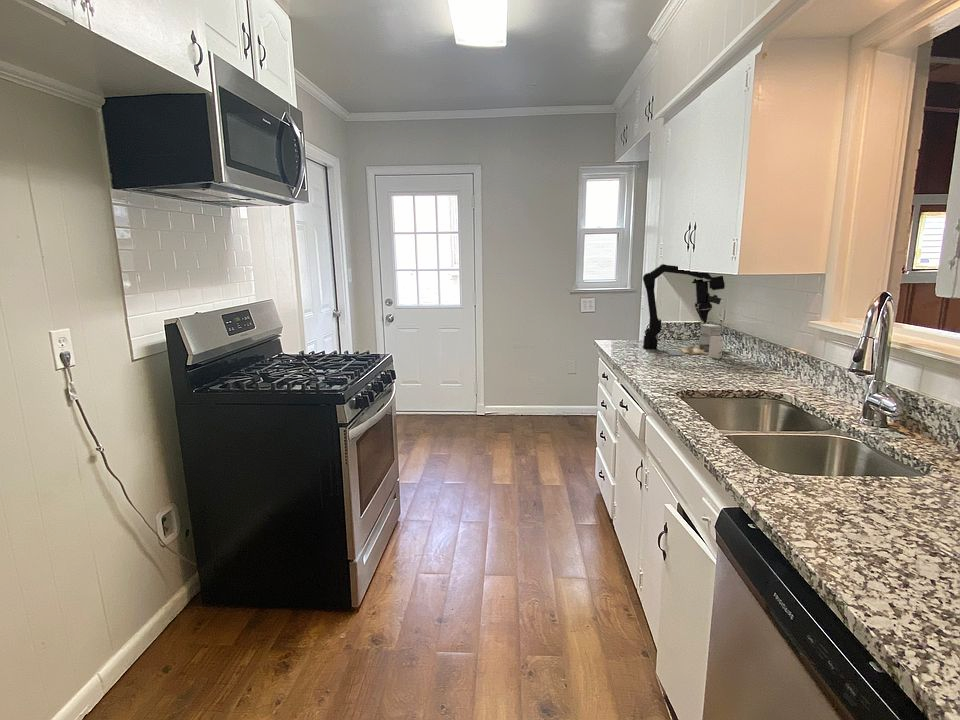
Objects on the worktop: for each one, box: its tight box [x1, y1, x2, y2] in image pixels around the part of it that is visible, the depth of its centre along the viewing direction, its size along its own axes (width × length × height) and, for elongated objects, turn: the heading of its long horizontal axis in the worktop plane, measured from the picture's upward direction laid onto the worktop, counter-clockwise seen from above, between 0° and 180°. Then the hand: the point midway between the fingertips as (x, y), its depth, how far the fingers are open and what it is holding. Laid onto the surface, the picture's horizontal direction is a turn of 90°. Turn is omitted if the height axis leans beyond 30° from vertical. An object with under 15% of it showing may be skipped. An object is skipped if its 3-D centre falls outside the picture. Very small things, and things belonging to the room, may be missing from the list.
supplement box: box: [698, 323, 722, 348], centre depth 276 cm, size 7×7×13 cm
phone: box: [665, 349, 684, 357], centre depth 262 cm, size 6×12×1 cm, turn 170°
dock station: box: [679, 343, 723, 356], centre depth 266 cm, size 19×13×4 cm
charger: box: [707, 336, 724, 359], centre depth 253 cm, size 5×4×10 cm
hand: (704, 321), depth 268 cm, fingers open, 9 cm apart
